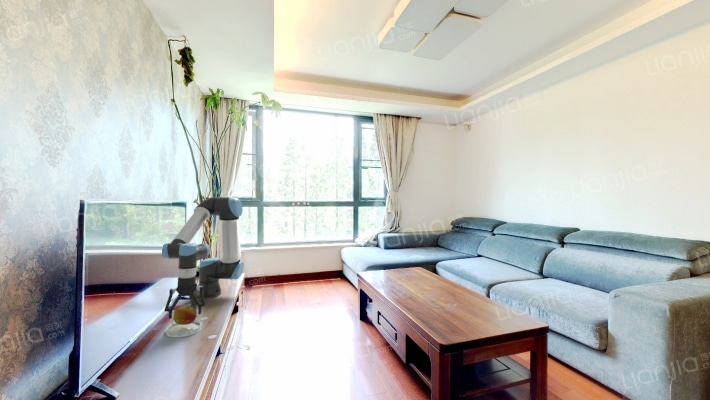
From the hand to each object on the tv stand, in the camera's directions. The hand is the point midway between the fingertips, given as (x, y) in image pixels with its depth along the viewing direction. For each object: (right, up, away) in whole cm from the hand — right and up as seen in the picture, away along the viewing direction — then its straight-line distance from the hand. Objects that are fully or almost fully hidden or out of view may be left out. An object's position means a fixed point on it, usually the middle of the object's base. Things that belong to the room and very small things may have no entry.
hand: (184, 323), depth 134 cm
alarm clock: (-11, -3, +28) cm, 31 cm away
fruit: (0, -1, 0) cm, 1 cm away
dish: (0, -3, 0) cm, 3 cm away
